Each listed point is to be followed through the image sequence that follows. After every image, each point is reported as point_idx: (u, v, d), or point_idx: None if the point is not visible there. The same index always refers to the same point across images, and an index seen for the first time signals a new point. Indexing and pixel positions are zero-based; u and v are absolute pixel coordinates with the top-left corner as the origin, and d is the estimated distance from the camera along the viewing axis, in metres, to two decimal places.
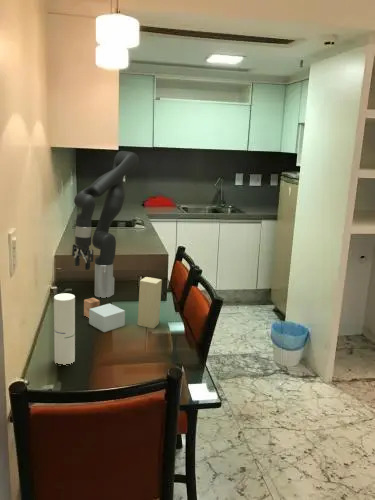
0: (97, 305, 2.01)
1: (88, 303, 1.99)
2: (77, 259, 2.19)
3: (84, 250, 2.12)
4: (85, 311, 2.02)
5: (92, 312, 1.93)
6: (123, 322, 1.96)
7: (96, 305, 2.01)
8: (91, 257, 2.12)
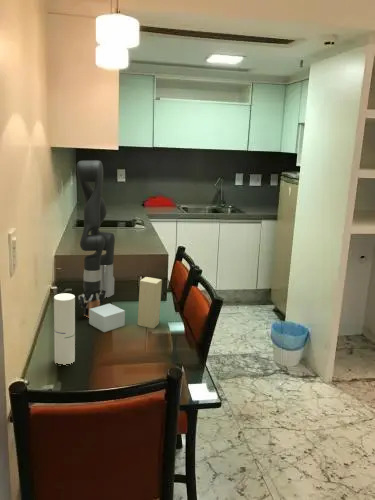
0: (97, 305, 2.01)
1: (89, 303, 1.99)
2: None
3: (98, 293, 2.02)
4: None
5: (92, 312, 1.93)
6: (123, 322, 1.96)
7: (96, 305, 2.01)
8: (100, 297, 2.06)
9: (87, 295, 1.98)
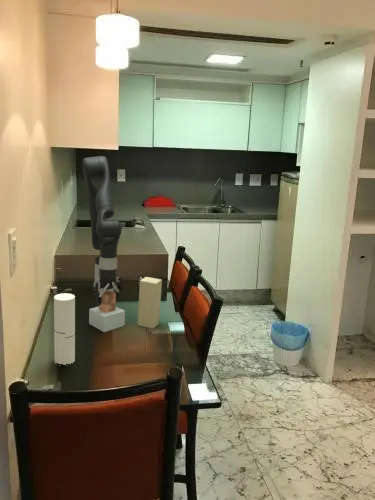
0: (113, 298, 1.92)
1: (104, 296, 1.90)
2: None
3: (114, 281, 1.92)
4: None
5: (92, 312, 1.93)
6: (123, 322, 1.96)
7: (112, 297, 1.92)
8: (117, 284, 1.97)
9: (103, 283, 1.88)
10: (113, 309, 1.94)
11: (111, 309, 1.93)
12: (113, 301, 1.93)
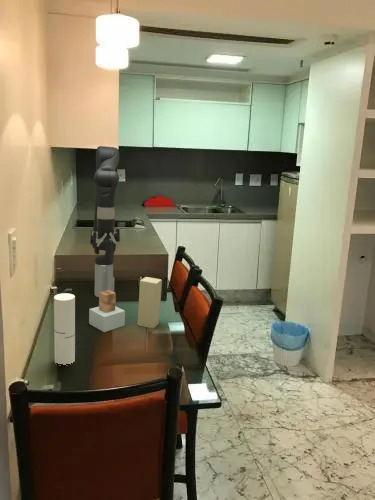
0: (113, 298, 1.92)
1: (104, 296, 1.90)
2: None
3: (112, 231, 1.97)
4: (100, 304, 1.93)
5: (92, 312, 1.93)
6: (123, 322, 1.96)
7: (112, 297, 1.92)
8: (115, 236, 2.01)
9: (101, 232, 1.93)
10: (113, 309, 1.94)
11: (111, 309, 1.93)
12: (113, 301, 1.93)
